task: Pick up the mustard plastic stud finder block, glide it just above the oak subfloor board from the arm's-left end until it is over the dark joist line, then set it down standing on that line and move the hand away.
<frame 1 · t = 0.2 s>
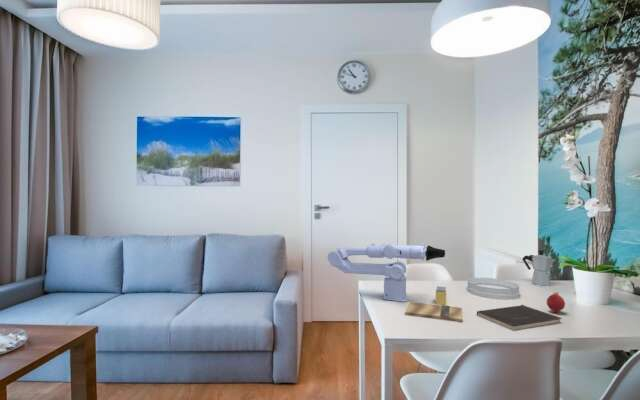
hand: (444, 253, 142), 21 cm above the table, tool horizontal, fingers open, 7 cm apart
stud finder: (441, 302, 144), on the table
hardcover book: (517, 320, 125), on the table
subfloor board: (434, 312, 131), on the table
onion: (555, 313, 132), on the table
dish: (492, 293, 160), on the table
coffee maker: (538, 284, 177), on the table
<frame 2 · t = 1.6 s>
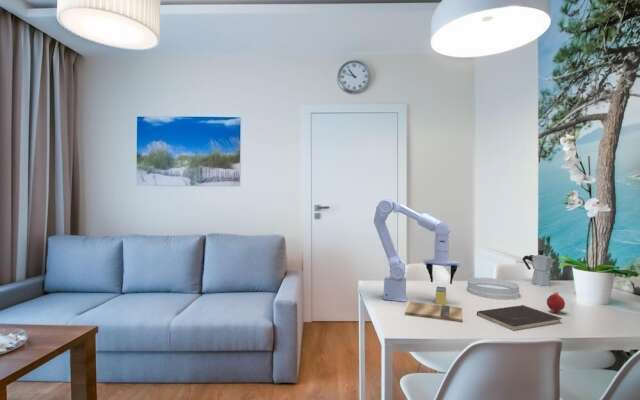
hand: (441, 282, 144), 8 cm above the table, tool pointing down, fingers open, 7 cm apart
nothing on the table moved.
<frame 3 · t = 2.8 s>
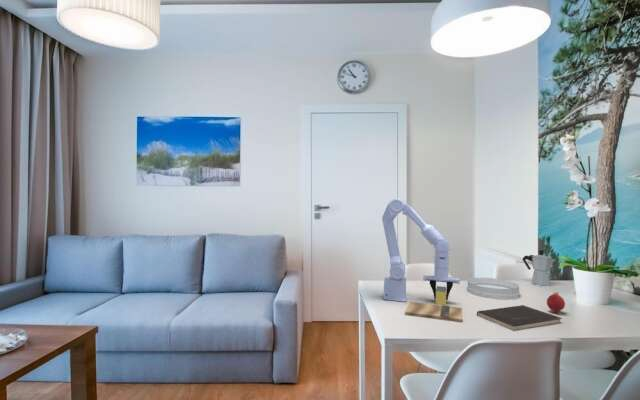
hand: (441, 299, 144), 1 cm above the table, tool pointing down, fingers closed on stud finder, 4 cm apart
stud finder: (441, 302, 144), on the table, touching gripper
everything else where it was.
when the fingers open (3 cm above the table, at t = 9.5 s): stud finder stays where it is, resting on subfloor board.
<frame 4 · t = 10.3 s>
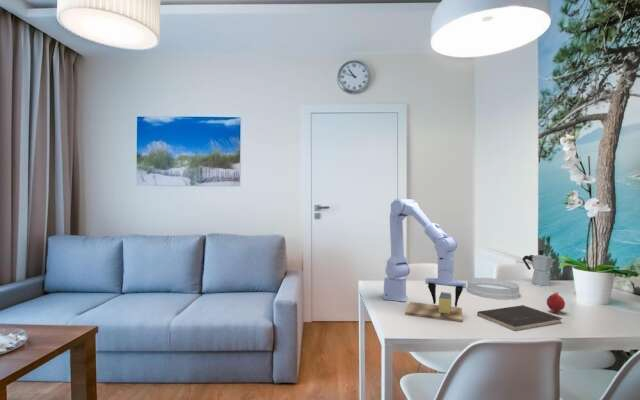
hand: (445, 304, 130), 4 cm above the table, tool pointing down, fingers open, 7 cm apart
stud finder: (445, 310, 130), point 1 cm above the table, touching subfloor board
everything else where it was.
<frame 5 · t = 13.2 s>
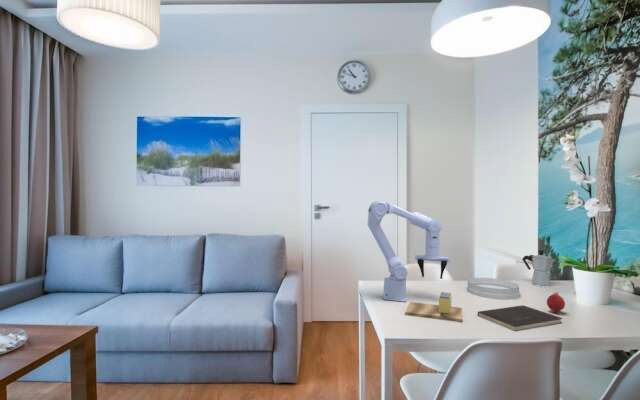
hand: (432, 277, 149), 9 cm above the table, tool pointing down, fingers open, 7 cm apart
nothing on the table moved.
at the end: stud finder 0.3 cm from the target spot on the subfloor board, point 1.2 cm above the subfloor board's base; stud finder tilted 0°; the gripper is holding nothing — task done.
